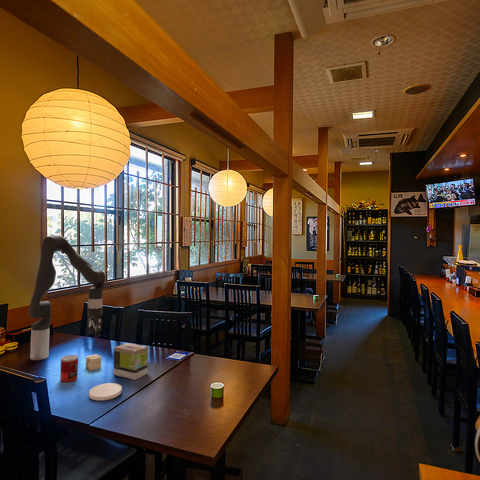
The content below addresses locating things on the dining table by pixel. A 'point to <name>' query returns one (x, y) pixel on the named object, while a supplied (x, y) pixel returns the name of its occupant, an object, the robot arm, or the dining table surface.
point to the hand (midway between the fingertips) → (94, 335)
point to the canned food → (69, 368)
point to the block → (93, 362)
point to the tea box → (130, 360)
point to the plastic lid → (105, 391)
